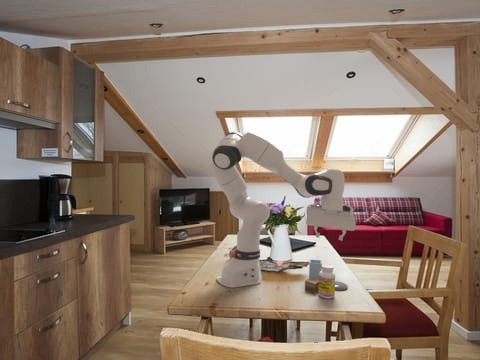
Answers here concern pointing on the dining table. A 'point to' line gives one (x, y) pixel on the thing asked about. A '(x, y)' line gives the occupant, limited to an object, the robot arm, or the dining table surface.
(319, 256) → the dining table surface
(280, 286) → the dining table surface
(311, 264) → the blue-gray rectangular block
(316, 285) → the walnut box
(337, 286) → the slate coaster
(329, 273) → the supplement bottle
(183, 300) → the dining table surface
